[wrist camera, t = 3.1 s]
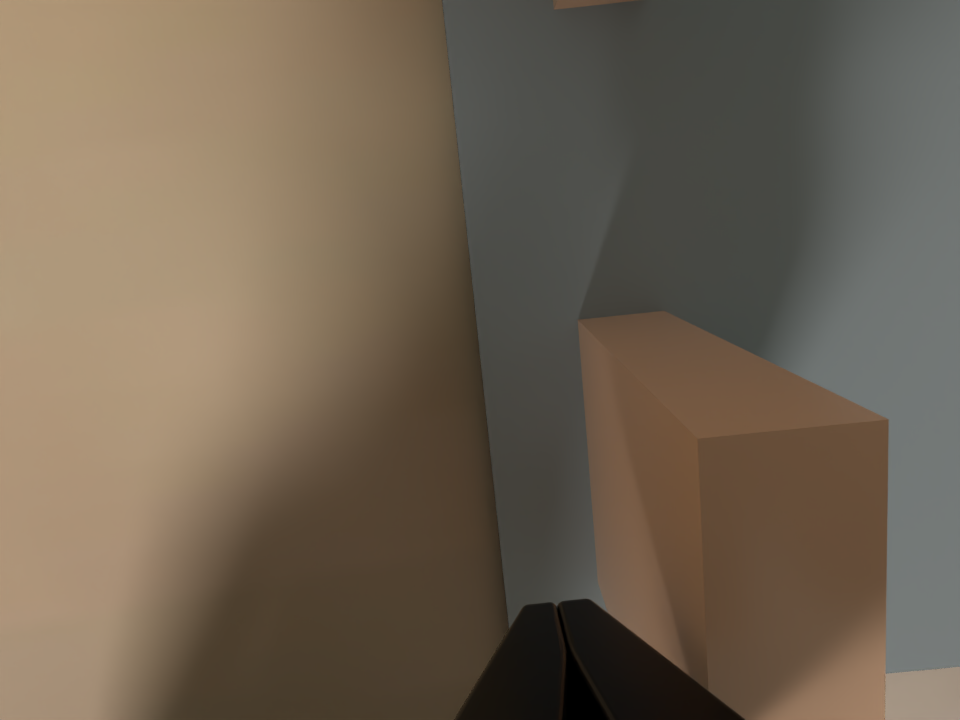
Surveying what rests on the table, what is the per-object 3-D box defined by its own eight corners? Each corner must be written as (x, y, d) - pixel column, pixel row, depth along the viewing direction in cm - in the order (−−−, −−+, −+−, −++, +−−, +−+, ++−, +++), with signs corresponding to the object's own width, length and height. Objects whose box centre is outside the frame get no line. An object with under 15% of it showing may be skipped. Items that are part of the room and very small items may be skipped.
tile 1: (679, 574, 16) (886, 936, 8) (597, 582, 16) (719, 950, 8) (666, 310, 14) (893, 418, 6) (578, 319, 14) (698, 439, 7)
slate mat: (1192, 632, 16) (1209, 643, 16) (516, 696, 17) (517, 707, 16) (1334, -654, 12) (1363, -683, 11) (386, -534, 12) (382, -560, 11)
